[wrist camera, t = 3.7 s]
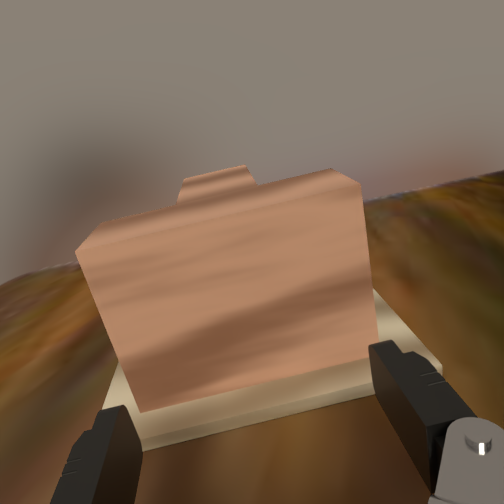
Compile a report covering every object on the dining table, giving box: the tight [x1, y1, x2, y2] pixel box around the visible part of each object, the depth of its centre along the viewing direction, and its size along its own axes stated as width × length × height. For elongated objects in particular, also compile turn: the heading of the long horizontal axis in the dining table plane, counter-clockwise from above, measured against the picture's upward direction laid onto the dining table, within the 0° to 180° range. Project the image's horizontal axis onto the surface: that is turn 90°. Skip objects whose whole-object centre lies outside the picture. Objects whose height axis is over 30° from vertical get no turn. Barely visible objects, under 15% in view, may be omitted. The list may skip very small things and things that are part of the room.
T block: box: [75, 165, 379, 413], centre depth 28 cm, size 14×14×10 cm
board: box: [102, 289, 443, 452], centre depth 35 cm, size 29×19×1 cm, turn 6°
